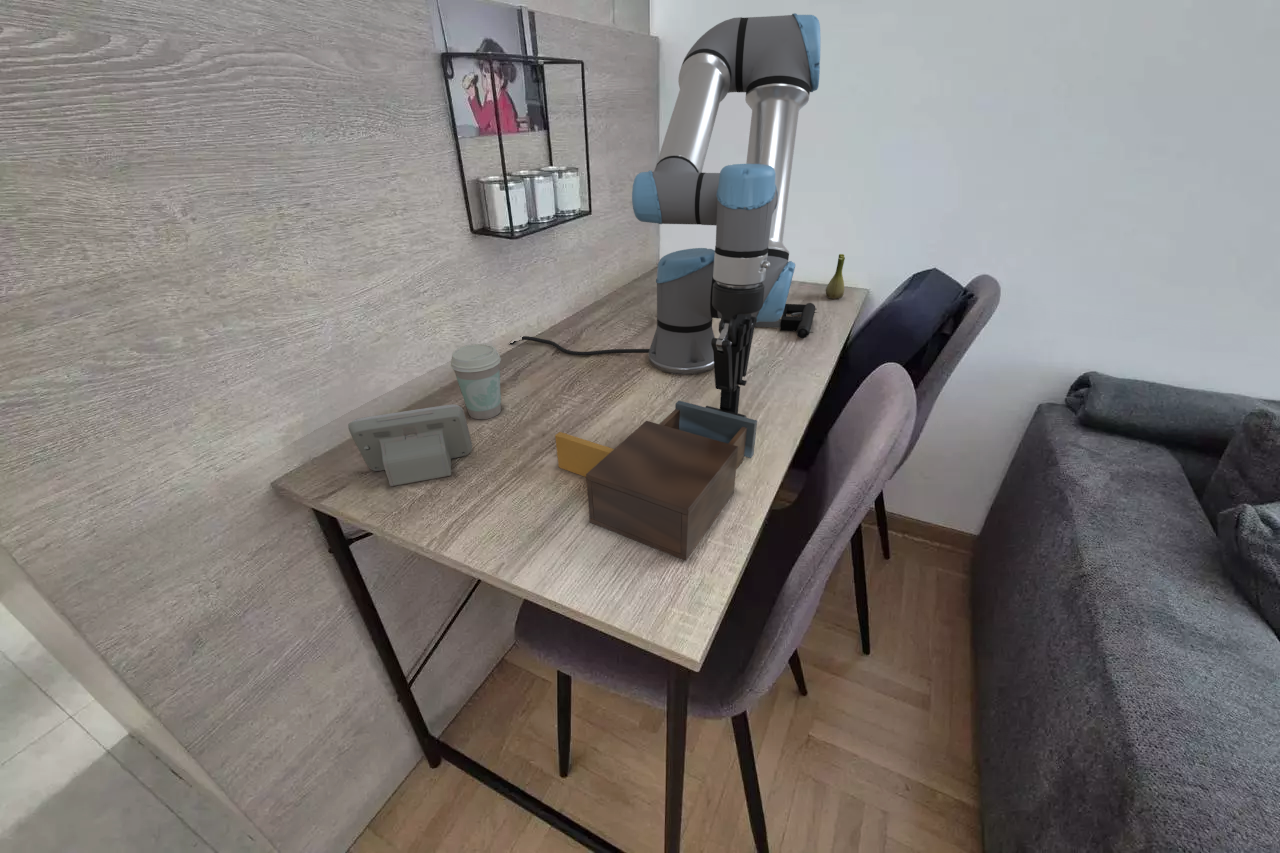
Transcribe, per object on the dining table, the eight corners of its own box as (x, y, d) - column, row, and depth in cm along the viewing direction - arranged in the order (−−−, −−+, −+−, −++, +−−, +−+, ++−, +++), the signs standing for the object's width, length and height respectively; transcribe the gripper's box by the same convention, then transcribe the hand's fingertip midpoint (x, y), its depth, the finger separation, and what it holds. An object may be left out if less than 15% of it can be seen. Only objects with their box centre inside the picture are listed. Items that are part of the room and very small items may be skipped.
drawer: (689, 421, 95) (690, 389, 92) (763, 441, 89) (767, 407, 86) (633, 477, 81) (632, 442, 78) (716, 506, 75) (719, 468, 72)
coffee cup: (461, 426, 96) (447, 364, 90) (461, 404, 103) (449, 345, 97) (510, 419, 98) (500, 358, 92) (507, 398, 105) (498, 340, 99)
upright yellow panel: (558, 467, 85) (554, 435, 82) (563, 463, 86) (559, 431, 83) (612, 486, 81) (610, 453, 78) (616, 482, 82) (614, 449, 78)
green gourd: (835, 302, 151) (843, 258, 145) (820, 298, 154) (827, 255, 148) (846, 297, 154) (854, 254, 148) (831, 293, 158) (838, 251, 151)
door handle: (744, 324, 130) (814, 328, 125) (758, 299, 146) (820, 301, 141) (744, 337, 132) (813, 341, 127) (757, 311, 148) (819, 314, 143)
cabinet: (646, 464, 85) (646, 420, 81) (734, 493, 79) (738, 446, 75) (589, 522, 74) (585, 474, 70) (686, 561, 67) (688, 510, 63)
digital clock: (478, 449, 90) (466, 392, 84) (468, 481, 82) (455, 421, 77) (377, 456, 89) (358, 398, 83) (358, 489, 81) (336, 428, 76)
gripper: (747, 297, 73) (734, 445, 85) (778, 274, 83) (762, 409, 95) (696, 290, 76) (691, 433, 88) (731, 268, 86) (722, 400, 98)
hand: (728, 421), depth 92 cm, fingers closed
